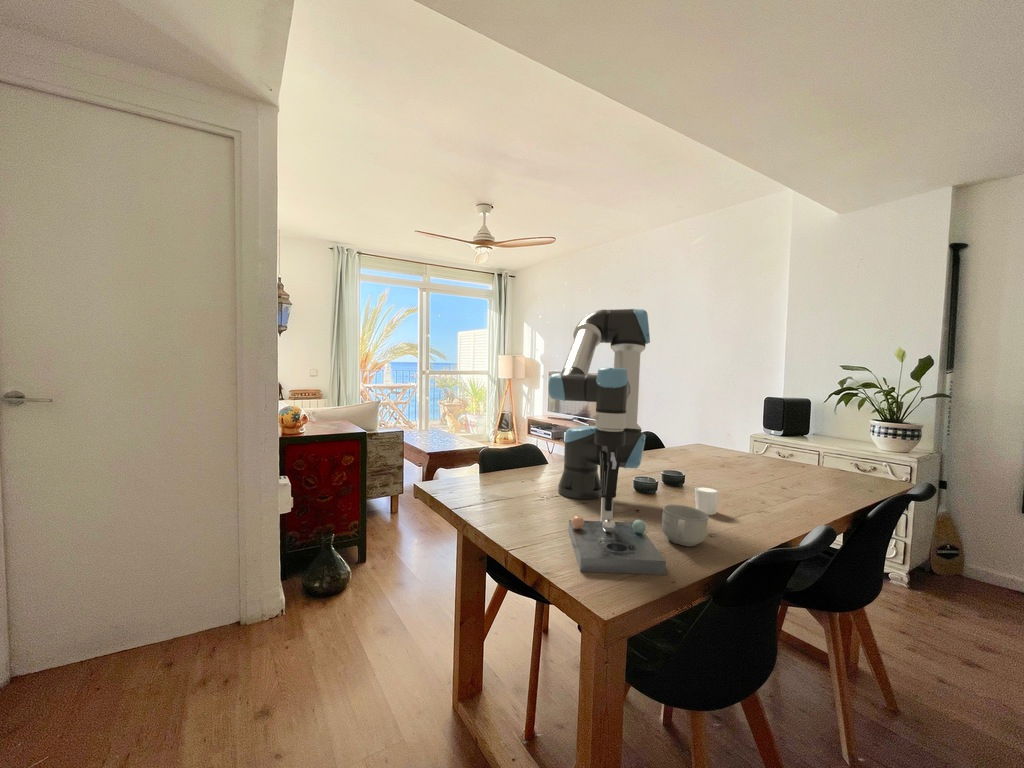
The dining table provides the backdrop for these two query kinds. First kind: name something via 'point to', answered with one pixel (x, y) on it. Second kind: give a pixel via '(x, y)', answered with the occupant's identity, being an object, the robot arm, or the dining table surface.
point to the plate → (615, 550)
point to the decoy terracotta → (577, 522)
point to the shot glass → (706, 499)
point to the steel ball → (608, 525)
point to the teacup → (684, 524)
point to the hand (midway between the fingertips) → (606, 521)
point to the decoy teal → (639, 526)
